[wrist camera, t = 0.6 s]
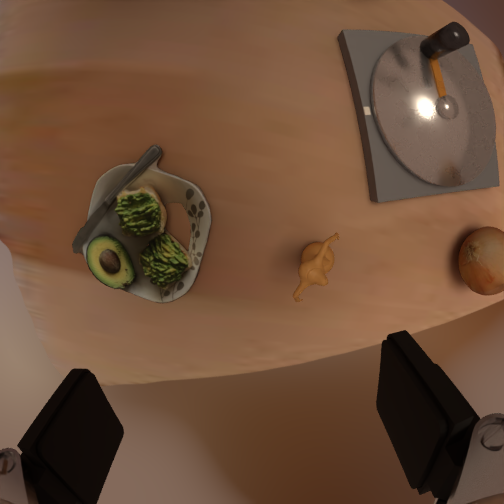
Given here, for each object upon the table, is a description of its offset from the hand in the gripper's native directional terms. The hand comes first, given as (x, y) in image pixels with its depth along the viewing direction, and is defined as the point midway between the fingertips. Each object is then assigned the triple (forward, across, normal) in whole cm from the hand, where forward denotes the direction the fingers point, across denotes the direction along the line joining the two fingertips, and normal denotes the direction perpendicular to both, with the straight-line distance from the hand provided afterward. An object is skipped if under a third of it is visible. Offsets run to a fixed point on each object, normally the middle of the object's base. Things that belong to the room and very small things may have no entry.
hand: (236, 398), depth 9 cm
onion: (+30, -33, +9) cm, 45 cm away
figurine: (+30, -7, +5) cm, 31 cm away
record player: (+27, -26, -12) cm, 39 cm away
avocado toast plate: (+30, +14, -1) cm, 33 cm away
